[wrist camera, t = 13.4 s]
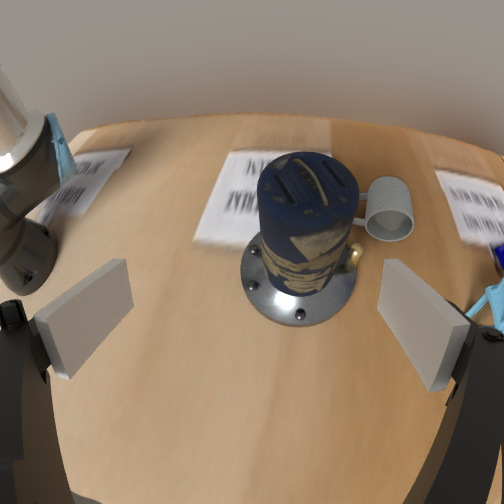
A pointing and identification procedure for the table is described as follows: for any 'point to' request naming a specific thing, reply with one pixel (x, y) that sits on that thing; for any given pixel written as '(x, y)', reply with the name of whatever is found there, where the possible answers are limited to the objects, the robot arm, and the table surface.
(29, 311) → the table surface
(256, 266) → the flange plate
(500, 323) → the light blue stand
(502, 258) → the mounting bracket
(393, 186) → the ceramic mug
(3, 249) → the robot arm
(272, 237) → the canister
